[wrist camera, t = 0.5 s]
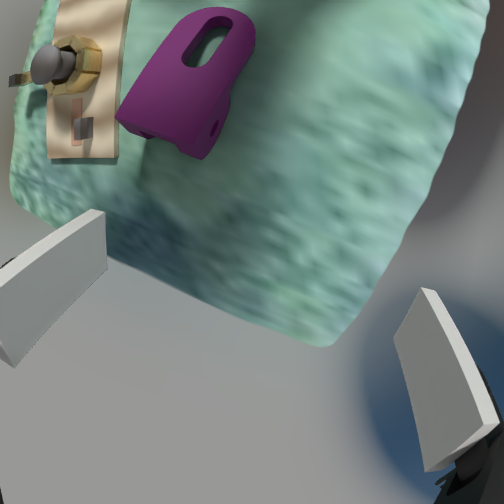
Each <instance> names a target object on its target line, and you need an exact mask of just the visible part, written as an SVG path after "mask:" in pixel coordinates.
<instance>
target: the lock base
mask: <svg viewBox="0 0 504 504" xmlns="http://www.w3.org/2000/svg"><path fill="white" fill-rule="evenodd" d="M131 1H132V0H60V4H59V8H58V13H57V18H56V23H55V29H54V35H53V41H52V45H45V46H43V47H41V48H40V49H39V50H38V51H37V53H36V54H35V56H34V58H33V60H32V63H31V68H30V74H31V79H32V81H33V82H34V83H35V84H38V85H43V84H47V83H49V82H50V81H52V80H53V79H69V78H70V76H71V75H72V73H73V72H74V71H75V67H76V58H77V53H76V52H65V51H60V49H59V48H58V47H57V46H55V45H54V43H55V42H57V41H58V40H59V39H62V38H65V37H68V36H71V35H75V36H80V37H85V38H90V39H93V41H94V42H95V43H96V44H97V45H98V46H99V47H100V48H101V49H102V50H101V51H100V52H103V53H102V62H101V72H97V73H98V74H99V76H98V77H97V78H96V80H95V81H94V82H93V84H92V85H91V86H90V87H89V89H88V90H87V91H85V92H83V93H77V94H72V95H57V96H52V95H50V94H49V92H48V91H47V159H52V158H115V157H118V137H119V122H118V121H117V120H116V119H115V118H114V116H115V114H116V113H117V111H118V109H119V104H120V87H121V74H122V63H123V54H124V45H125V38H126V31H127V24H128V18H129V12H130V6H131Z"/></svg>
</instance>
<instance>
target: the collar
mask: <svg viewBox="0 0 504 504" xmlns="http://www.w3.org/2000/svg"><path fill="white" fill-rule="evenodd" d="M54 45H55V46H57V47H58V48H59V49H60V51H65V52H76V53H77V58H76V67H75V71H74V72H73V73H72V75H71V76H70V78H69V79H53V80H52V81H50V82H49V83H47V84H43V86H44V87H45V88H46V90H47V91H48V92H49V94H50V95H52V96H57V95H72V94H77V93H83V92H85V91H87V90H88V89H89V87H90V86H91V85H92V84H93V82H94V81H95V80H96V78H97V77H98V76H99V74H98V73H97V72H101V62H102V53H103V52H100V51H101V50H102V49H101V48H100V47H99V46H98V45H97V44H96V43H95V42H94V41H93V39H90V38H85V37H80V36H75V35H71V36H68V37H65V38H62V39H59V40H58V41H57V42H55V43H54ZM30 83H33V81H32V79H31V74H30V71H28V72H25V73H23V74H14V75H12V76H10V77H9V87H16V86H24V85H27V84H30Z"/></svg>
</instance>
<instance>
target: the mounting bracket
mask: <svg viewBox="0 0 504 504" xmlns="http://www.w3.org/2000/svg"><path fill="white" fill-rule="evenodd" d="M217 26H225V27H228V28H230V29H231V30H230V31H229V33H228V34H227V36H226V37H225V38H224V40H223V41H222V43H221V44H220V45H219V47H218V48H217V50H216V51H215V53H214V54H213V55H212V57H211V58H210V60H209V61H208V62H207V63H206V64H205V65H203V66H200V67H196V68H191V67H187V66H185V63H186V62H187V60H188V59H189V57H190V56H191V54H192V53H193V52H194V50H195V49H196V47H197V46H198V45H199V43H200V42H201V40H202V39H203V38H204V36H205V35H206V34H207V32H208V31H209V30H210V29H212V28H214V27H217ZM255 35H256V31H255V27H254V24H253V23H252V21H251V20H250V19H249V18H248V17H247V16H246V15H245V14H243V13H241V12H239V11H237V10H234V9H231V8H225V7H210V8H204V9H201V10H198V11H195V12H193V13H191V14H189V15H187V16H185V17H184V18H183V19H181V20H180V21H179V22H178V23H177V25H176V26H175V27H174V28H173V30H172V31H171V32H170V33H169V35H168V36H167V37H166V39H165V40H164V41H163V43H162V44H161V45H160V47H159V48H158V49H157V51H156V52H155V53H154V55H153V56H152V58H151V59H150V60H149V62H148V63H147V65H146V66H145V68H144V69H143V71H142V72H141V74H140V75H139V77H138V78H137V80H136V81H135V83H134V84H133V86H132V88H131V89H130V91H129V92H128V94H127V96H126V97H125V99H124V101H123V102H122V104H121V106H120V107H119V109H118V111H117V113H116V114H115V116H114V118H115V119H116V120H117V121H118V122H119V123H120V124H121V125H122V126H123V127H124V128H125V129H127V130H128V131H129V132H130V133H133V134H135V135H138V136H141V137H144V138H146V139H152V138H154V137H158V138H161V139H163V140H166V141H168V142H171V143H174V144H175V145H176V146H177V148H178V149H179V151H180V152H182V153H185V154H187V155H189V156H192V157H194V158H197V159H199V160H202V159H204V158H205V157H206V156H207V155H208V153H209V152H210V150H211V149H212V147H213V146H214V144H215V142H216V140H217V138H218V136H219V134H220V132H221V129H222V127H223V124H224V122H225V120H226V117H227V114H228V111H229V106H230V90H231V87H232V85H233V84H234V82H235V80H236V79H237V77H238V75H239V74H240V72H241V70H242V69H243V67H244V66H245V64H246V62H247V61H248V59H249V58H250V56H251V54H252V52H253V50H254V46H255Z"/></svg>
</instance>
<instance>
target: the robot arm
mask: <svg viewBox="0 0 504 504" xmlns="http://www.w3.org/2000/svg"><path fill="white" fill-rule="evenodd" d="M106 270H107V253H106V229H105V212H103V211H98V210H94V209H90V210H88V211H87V212H85V213H83V214H82V215H80V216H78V217H77V218H75V219H73V220H72V221H70V222H68V223H67V224H65V225H64V226H62V227H61V228H59V229H57V230H56V231H54V232H53V233H51V234H50V235H48V236H47V237H45V238H44V239H42V240H41V241H39V242H38V243H36V244H35V245H33V246H32V247H30V248H29V249H27V250H26V251H25V252H23V253H22V254H20V255H19V256H17V257H15V258H12V259H10V260H9V261H8V262H6V263H5V264H4V265H2V267H1V268H0V358H1V359H2V360H3V361H4V362H6V363H7V364H9V365H10V366H12V367H13V368H15V367H16V366H17V365H18V364H19V362H20V361H21V360H22V359H23V358H24V356H25V355H26V354H27V353H28V352H29V351H30V349H31V348H32V347H33V346H34V345H35V344H36V342H37V341H38V340H39V339H40V338H41V337H42V336H43V335H44V334H45V333H46V331H47V330H48V329H49V328H50V327H51V326H52V325H53V324H54V323H55V322H56V321H57V319H58V318H59V317H60V316H61V315H62V314H63V313H64V312H65V311H66V310H67V309H68V308H69V307H70V306H71V305H72V304H73V303H74V302H75V301H76V299H77V298H78V297H80V296H81V295H82V294H83V293H84V292H85V290H86V289H87V288H89V287H90V286H91V285H92V284H93V283H94V282H95V281H96V280H97V279H98V278H99V276H101V275H102V274H103V273H104V272H105V271H106ZM393 339H394V342H395V346H396V349H397V352H398V356H399V359H400V363H401V366H402V370H403V373H404V377H405V381H406V384H407V388H408V392H409V396H410V400H411V404H412V408H413V413H414V417H415V421H416V426H417V431H418V436H419V440H420V446H421V451H422V457H423V463H424V469H425V472H431V471H438V470H443V469H444V468H446V467H447V466H448V465H450V464H451V463H453V462H454V461H455V465H456V468H455V469H453V470H452V471H450V472H449V473H448V474H446V475H445V476H443V477H442V478H440V479H439V480H438V481H437V482H436V483H435V485H438V484H440V483H441V482H443V481H444V480H446V481H445V483H444V484H443V485H442V486H440V488H441V489H442V490H441V491H440V493H439V495H438V497H437V498H436V500H435V502H434V504H504V422H503V419H502V416H501V414H500V411H499V408H498V406H497V404H496V401H495V399H494V397H493V395H491V393H492V392H491V390H490V387H489V386H488V383H487V380H486V378H485V376H484V374H483V372H482V371H481V370H480V369H479V367H478V366H477V365H476V363H475V362H474V361H473V359H472V357H471V355H470V353H469V351H468V349H467V347H466V345H465V343H464V341H463V339H462V337H461V335H460V333H459V331H458V330H457V328H456V326H455V324H454V322H453V320H452V319H451V317H450V315H449V313H448V312H447V310H446V308H445V306H444V305H443V303H442V301H441V300H440V298H439V296H438V295H437V293H436V292H435V291H434V290H429V289H426V288H422V287H421V288H420V290H419V292H418V294H417V296H416V298H415V300H414V302H413V304H412V306H411V307H410V309H409V311H408V313H407V315H406V317H405V318H404V320H403V322H402V324H401V325H400V327H399V329H398V331H397V332H396V334H395V336H394V337H393ZM0 504H4V503H3V499H2V494H1V489H0Z"/></svg>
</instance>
